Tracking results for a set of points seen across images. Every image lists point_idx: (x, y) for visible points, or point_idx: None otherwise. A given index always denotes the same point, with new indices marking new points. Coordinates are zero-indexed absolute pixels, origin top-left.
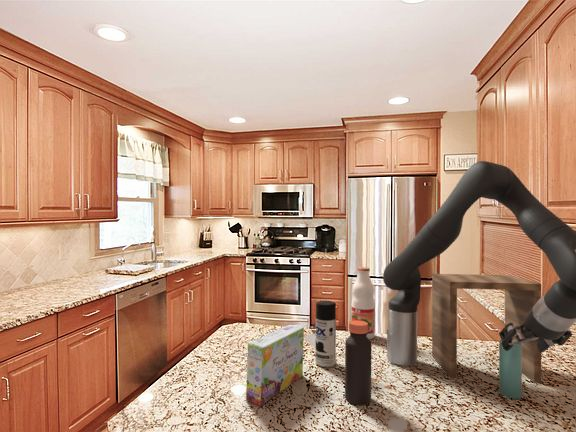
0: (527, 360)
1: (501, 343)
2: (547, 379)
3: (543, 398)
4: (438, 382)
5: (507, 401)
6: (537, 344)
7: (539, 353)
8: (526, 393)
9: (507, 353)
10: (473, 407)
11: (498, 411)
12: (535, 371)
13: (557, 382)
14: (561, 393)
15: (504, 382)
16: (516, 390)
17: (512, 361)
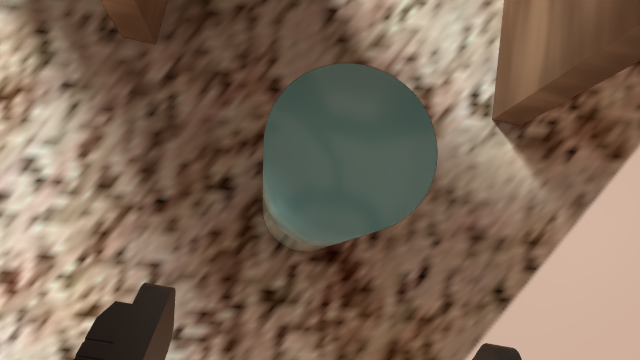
0: (543, 36)
1: (111, 305)
2: (568, 101)
3: (425, 254)
4: (34, 65)
5: (244, 266)
6: (490, 354)
7: (611, 69)
8: None
9: (278, 206)
10: (36, 306)
11: None
12: (525, 102)
13: (589, 130)
14: (534, 221)
15: (265, 214)
16: (304, 249)
17: (299, 234)
